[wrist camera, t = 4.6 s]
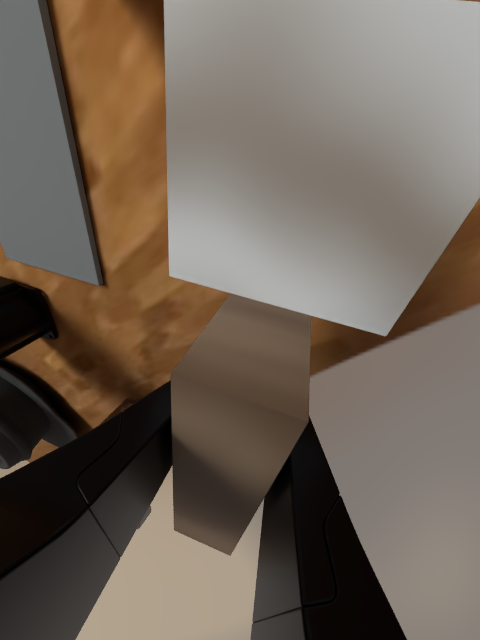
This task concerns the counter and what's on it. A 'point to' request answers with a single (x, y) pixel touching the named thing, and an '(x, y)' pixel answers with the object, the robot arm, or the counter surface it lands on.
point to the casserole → (27, 420)
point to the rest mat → (39, 152)
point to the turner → (301, 208)
